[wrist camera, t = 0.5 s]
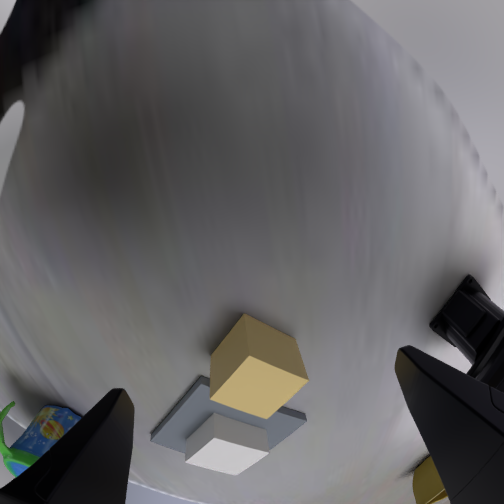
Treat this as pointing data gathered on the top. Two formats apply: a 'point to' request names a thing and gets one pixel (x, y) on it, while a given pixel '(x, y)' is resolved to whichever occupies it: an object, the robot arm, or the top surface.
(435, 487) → the flower pot
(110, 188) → the top surface
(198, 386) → the baseplate
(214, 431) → the white brick
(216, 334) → the top surface
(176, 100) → the top surface
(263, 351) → the ochre brick
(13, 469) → the snack cup
